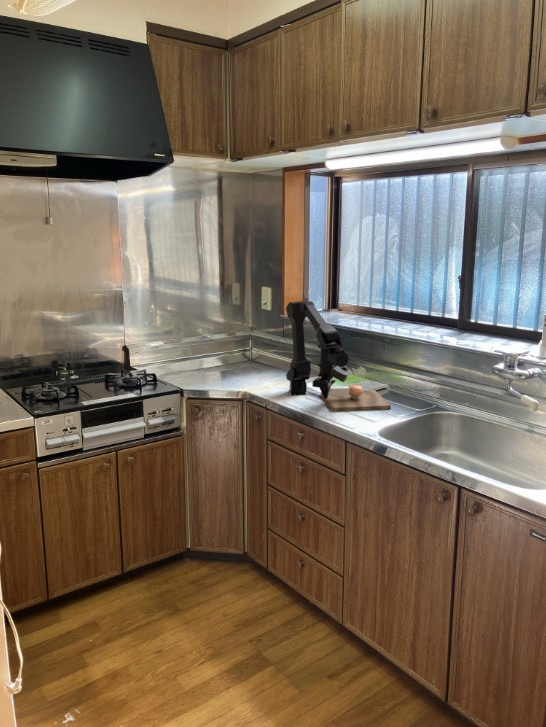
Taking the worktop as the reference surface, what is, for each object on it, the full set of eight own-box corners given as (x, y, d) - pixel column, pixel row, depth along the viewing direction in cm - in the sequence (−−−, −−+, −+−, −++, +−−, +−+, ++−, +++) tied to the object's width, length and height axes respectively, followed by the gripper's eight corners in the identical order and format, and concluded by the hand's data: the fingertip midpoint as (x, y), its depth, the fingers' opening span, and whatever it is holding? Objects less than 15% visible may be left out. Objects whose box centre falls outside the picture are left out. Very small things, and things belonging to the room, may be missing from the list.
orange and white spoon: (359, 391, 249) (359, 384, 248) (363, 395, 244) (363, 388, 243) (322, 393, 247) (322, 386, 246) (325, 397, 241) (325, 390, 241)
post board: (332, 411, 236) (332, 403, 235) (320, 395, 255) (320, 388, 254) (390, 408, 239) (391, 401, 238) (374, 393, 258) (375, 386, 257)
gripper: (341, 369, 223) (339, 408, 227) (353, 357, 240) (351, 394, 244) (312, 365, 227) (311, 404, 231) (326, 354, 244) (324, 391, 248)
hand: (325, 398), depth 238 cm, fingers closed
